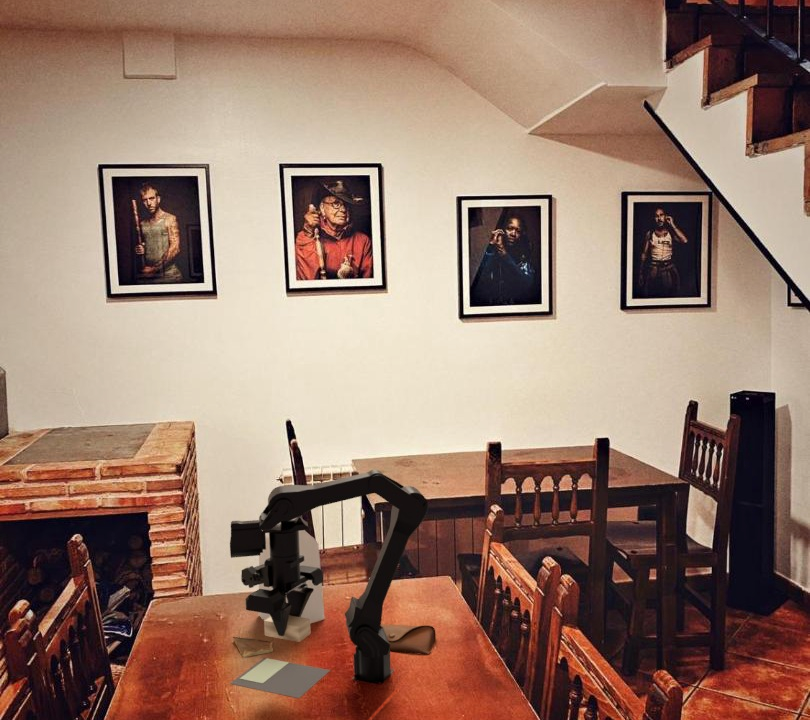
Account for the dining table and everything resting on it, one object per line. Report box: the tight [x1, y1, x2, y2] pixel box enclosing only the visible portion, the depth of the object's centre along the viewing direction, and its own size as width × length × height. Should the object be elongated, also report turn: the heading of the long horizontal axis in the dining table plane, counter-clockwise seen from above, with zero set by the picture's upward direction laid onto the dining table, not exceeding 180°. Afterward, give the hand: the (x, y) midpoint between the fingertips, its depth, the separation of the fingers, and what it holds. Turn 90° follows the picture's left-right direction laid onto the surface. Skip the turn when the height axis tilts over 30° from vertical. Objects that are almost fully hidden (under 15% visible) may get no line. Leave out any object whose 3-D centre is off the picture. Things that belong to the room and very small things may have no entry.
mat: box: [229, 657, 331, 699], centre depth 153 cm, size 16×12×1 cm
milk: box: [257, 518, 325, 624], centre depth 184 cm, size 12×12×26 cm
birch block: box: [263, 615, 311, 643], centre depth 150 cm, size 8×4×3 cm, turn 65°
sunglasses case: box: [353, 623, 437, 655], centre depth 168 cm, size 18×7×7 cm
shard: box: [232, 636, 274, 659], centre depth 169 cm, size 11×8×2 cm
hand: (287, 631), depth 150 cm, fingers closed on birch block, 4 cm apart
